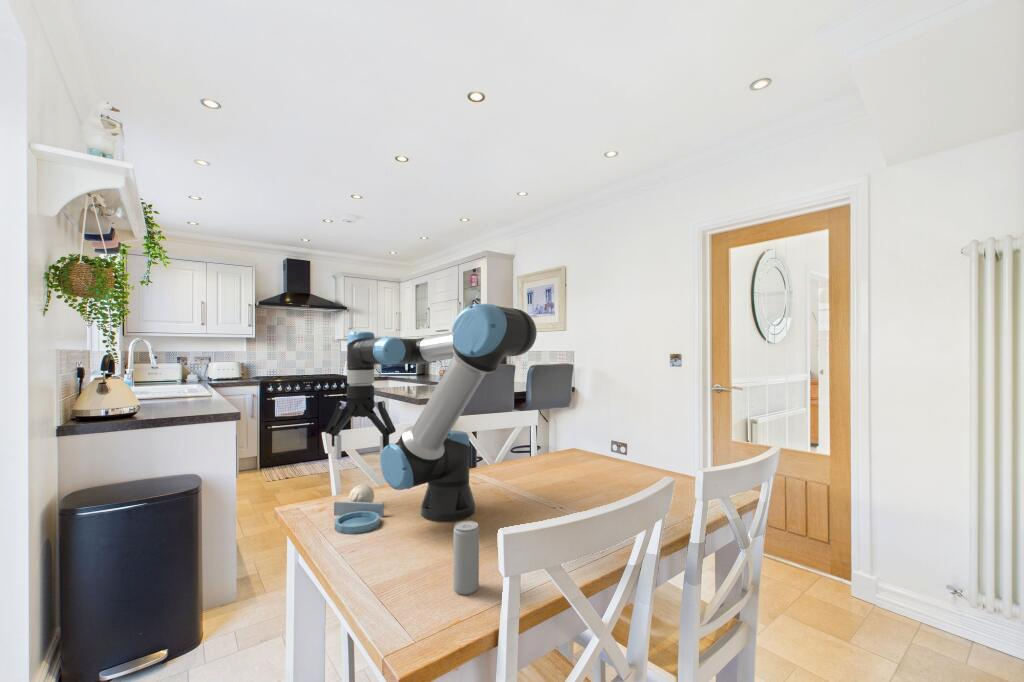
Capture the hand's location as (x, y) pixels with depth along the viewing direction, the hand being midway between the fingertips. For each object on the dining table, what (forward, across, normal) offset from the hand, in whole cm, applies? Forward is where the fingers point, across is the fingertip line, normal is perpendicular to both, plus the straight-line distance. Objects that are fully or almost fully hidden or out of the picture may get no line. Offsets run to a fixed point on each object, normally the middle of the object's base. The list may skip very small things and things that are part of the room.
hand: (360, 458), depth 128 cm
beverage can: (+16, -39, +40) cm, 58 cm away
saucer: (+15, -5, +12) cm, 20 cm away
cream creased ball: (+15, 0, -1) cm, 15 cm away
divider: (+15, -2, +5) cm, 16 cm away
